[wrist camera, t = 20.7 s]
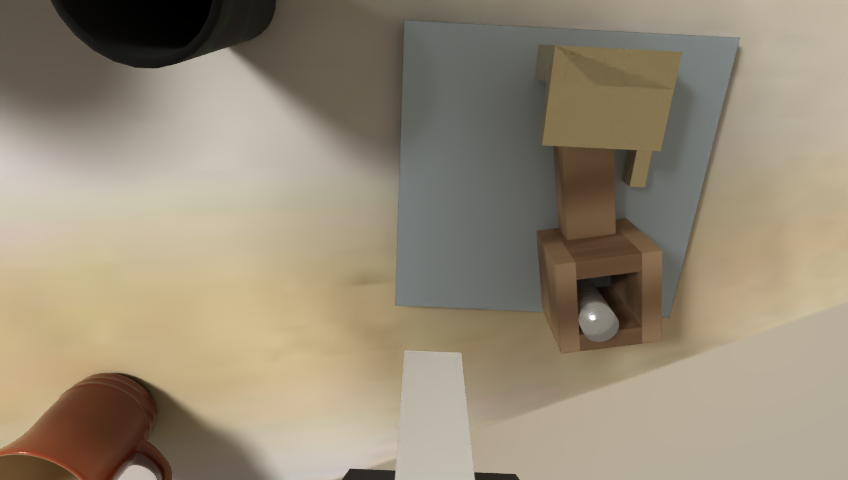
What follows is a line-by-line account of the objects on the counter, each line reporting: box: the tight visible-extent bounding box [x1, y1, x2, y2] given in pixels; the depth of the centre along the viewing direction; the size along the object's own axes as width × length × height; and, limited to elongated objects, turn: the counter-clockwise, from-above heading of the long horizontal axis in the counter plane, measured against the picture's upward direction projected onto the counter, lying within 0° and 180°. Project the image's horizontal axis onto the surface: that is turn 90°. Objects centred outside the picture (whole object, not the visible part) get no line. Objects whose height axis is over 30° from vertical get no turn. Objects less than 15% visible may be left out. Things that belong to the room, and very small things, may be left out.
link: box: [536, 146, 662, 353], centre depth 33 cm, size 15×6×6 cm, turn 9°
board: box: [395, 20, 740, 318], centre depth 36 cm, size 20×21×1 cm
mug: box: [0, 373, 172, 480], centre depth 40 cm, size 12×9×10 cm
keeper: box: [535, 45, 682, 187], centre depth 32 cm, size 8×8×4 cm
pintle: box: [576, 278, 619, 342], centre depth 35 cm, size 2×2×7 cm
